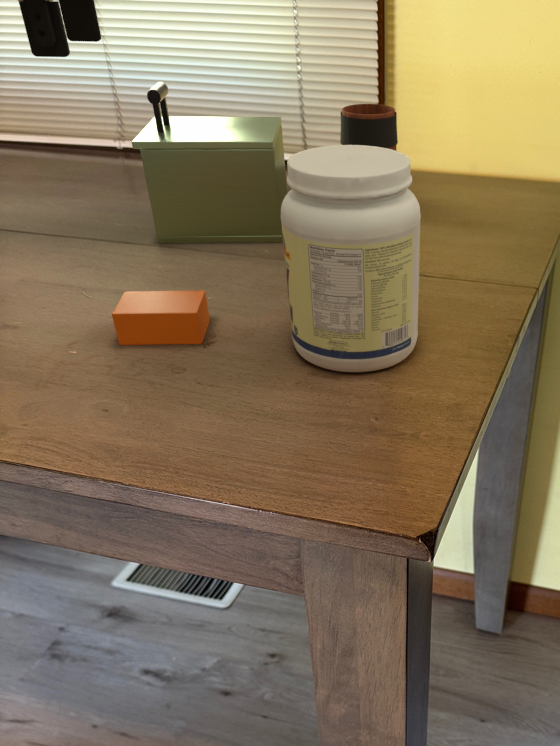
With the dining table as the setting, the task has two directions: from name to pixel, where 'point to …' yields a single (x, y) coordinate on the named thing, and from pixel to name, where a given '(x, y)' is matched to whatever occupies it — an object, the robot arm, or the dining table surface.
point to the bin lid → (203, 129)
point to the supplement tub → (352, 256)
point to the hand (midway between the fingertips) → (69, 48)
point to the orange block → (161, 317)
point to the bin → (216, 193)
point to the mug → (369, 125)
